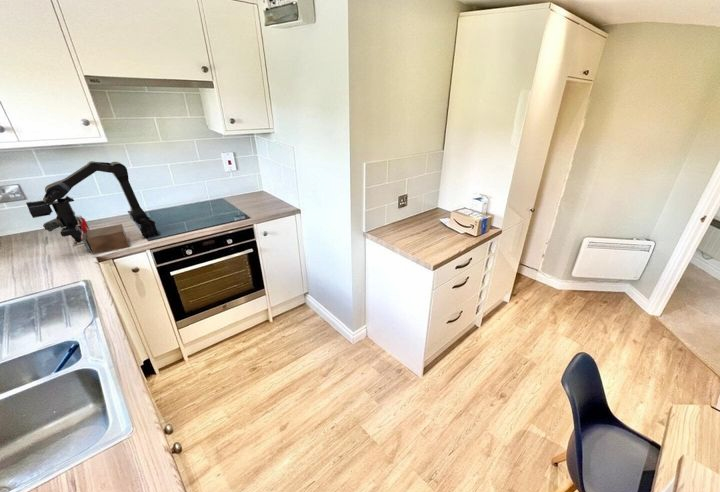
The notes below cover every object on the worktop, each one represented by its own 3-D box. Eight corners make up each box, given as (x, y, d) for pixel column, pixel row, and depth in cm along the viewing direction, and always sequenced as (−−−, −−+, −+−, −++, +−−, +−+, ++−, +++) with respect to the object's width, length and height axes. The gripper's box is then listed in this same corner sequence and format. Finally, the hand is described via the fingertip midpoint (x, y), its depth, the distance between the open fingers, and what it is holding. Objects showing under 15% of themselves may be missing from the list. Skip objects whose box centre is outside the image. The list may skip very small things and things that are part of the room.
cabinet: (93, 254, 155) (86, 238, 151) (94, 245, 163) (87, 230, 159) (129, 246, 163) (122, 231, 159) (127, 238, 171) (121, 224, 167)
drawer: (76, 255, 151) (70, 242, 148) (77, 247, 159) (71, 235, 155) (121, 246, 161) (116, 234, 158) (120, 239, 168) (115, 227, 165)
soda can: (96, 236, 172) (86, 215, 166) (81, 242, 166) (71, 220, 160) (86, 235, 173) (76, 214, 168) (71, 240, 167) (61, 219, 162)
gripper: (42, 209, 149) (58, 240, 156) (37, 222, 136) (54, 254, 143) (74, 205, 155) (88, 234, 162) (72, 216, 143) (87, 247, 150)
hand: (79, 242), depth 154 cm, fingers closed
